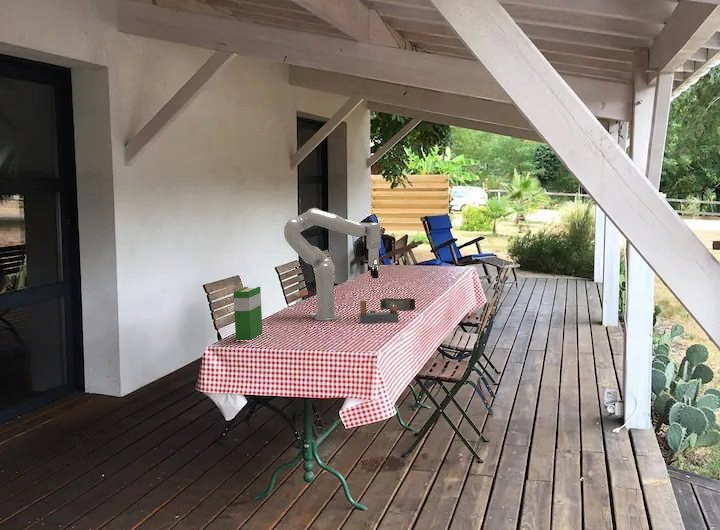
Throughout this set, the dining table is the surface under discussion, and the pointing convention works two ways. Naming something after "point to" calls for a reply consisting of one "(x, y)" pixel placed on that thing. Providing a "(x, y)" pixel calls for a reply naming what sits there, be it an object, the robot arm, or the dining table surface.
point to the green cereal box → (247, 313)
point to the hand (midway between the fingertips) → (374, 277)
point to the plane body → (377, 315)
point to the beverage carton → (398, 303)
